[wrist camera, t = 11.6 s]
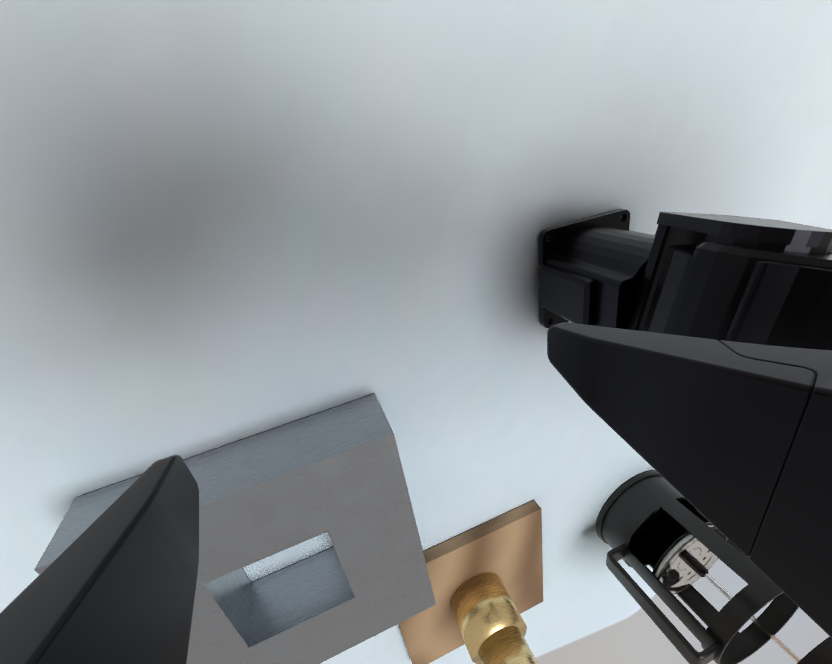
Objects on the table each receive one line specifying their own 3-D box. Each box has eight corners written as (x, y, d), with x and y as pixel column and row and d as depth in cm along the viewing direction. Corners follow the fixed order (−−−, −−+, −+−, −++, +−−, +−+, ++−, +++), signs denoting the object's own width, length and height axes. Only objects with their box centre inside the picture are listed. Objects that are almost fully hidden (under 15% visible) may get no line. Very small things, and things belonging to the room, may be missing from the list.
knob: (498, 564, 33) (569, 687, 25) (502, 596, 35) (568, 718, 28) (446, 590, 32) (503, 727, 24) (453, 621, 34) (507, 756, 26)
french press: (678, 454, 39) (1115, 760, 19) (666, 515, 43) (1011, 818, 23) (583, 500, 36) (979, 917, 16) (580, 560, 40) (889, 950, 20)
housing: (374, 393, 23) (393, 433, 20) (416, 554, 30) (436, 604, 27) (75, 497, 19) (34, 569, 16) (205, 653, 27) (196, 726, 23)
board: (534, 499, 33) (541, 508, 32) (537, 591, 39) (543, 601, 38) (381, 571, 30) (384, 583, 29) (411, 658, 36) (414, 671, 35)
